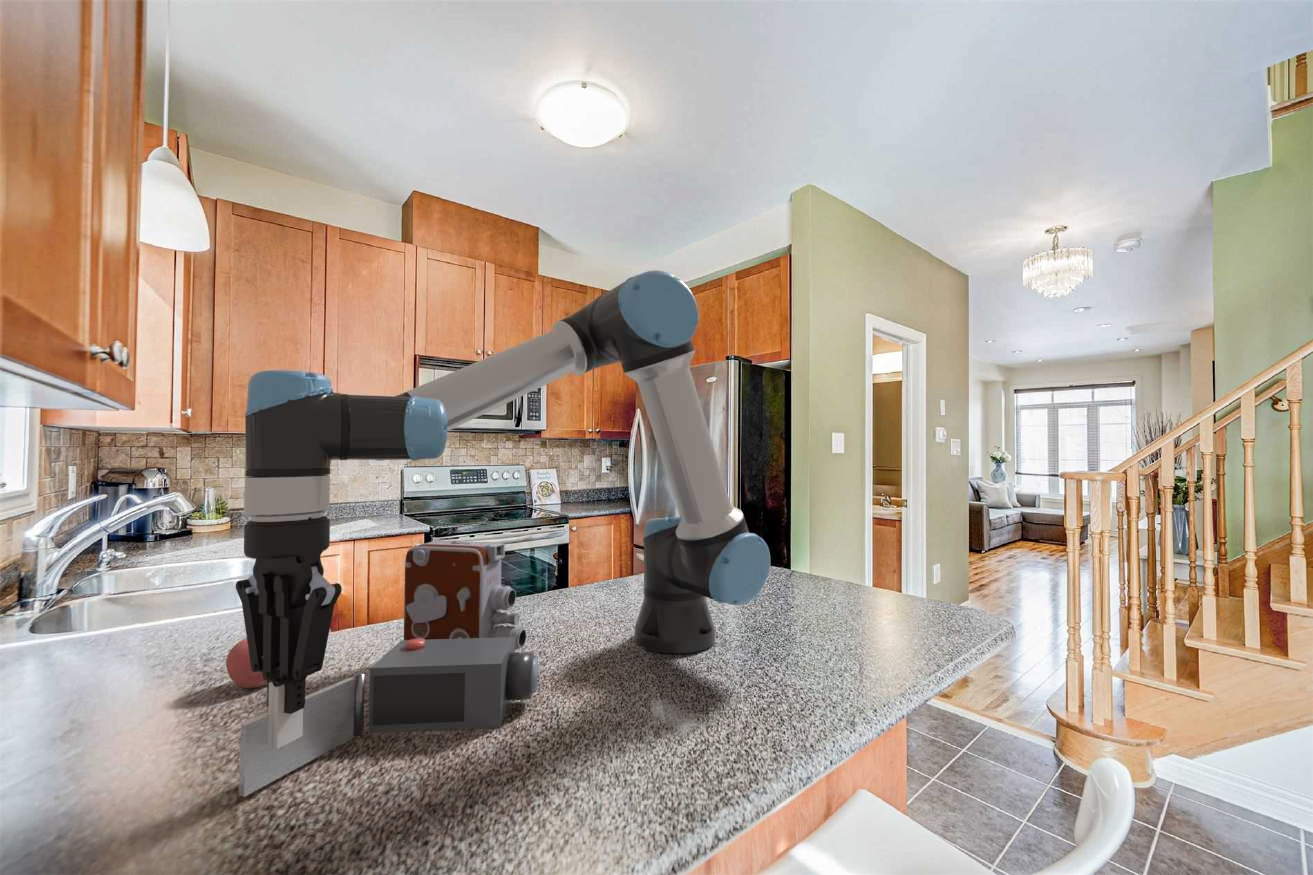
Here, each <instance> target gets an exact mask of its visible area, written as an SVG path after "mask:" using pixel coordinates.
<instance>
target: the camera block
mask: <svg viewBox="0 0 1313 875" xmlns="http://www.w3.org/2000/svg"><path fill="white" fill-rule="evenodd" d="M538 680H539V660H538V658H537V657H535V652H534V651H527V652H526V651H522V652H521V651H520V652H516V649H515V637H497V638H463V639H429V640H425V639H422V638H416V639H411V640H404V639H403V640H400V641H399V642H398V643H396V644H395V645H394V646H393V647H392V648H391V649H389V651H388V652H386V653H385V654H384V655H383V656H382V657H381V658H379V660H377V661H376V662H375V663H374V664H373V665H371V666H370V668H369V691H368V692H369V693H368V695H369V696H368V697H369V698H368V699H369V700H368V734H369V735H370V734H389V733H408V732H409V733H411V732H430V731H431V732H432V731H433V732H435V731H453V730H455V731H456V730H457V731H458V730H475V729H476V730H480V729H498V728H499V729H500V728H502V725H503V722H504V719H505V717H506V715H507V712H508V710H509V708H510V705H511V702H512V701H521V700H522V701H525V700H531V699H532V696H533V693H534V694H535V693H537V689H538V688H537V687H538Z"/></svg>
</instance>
